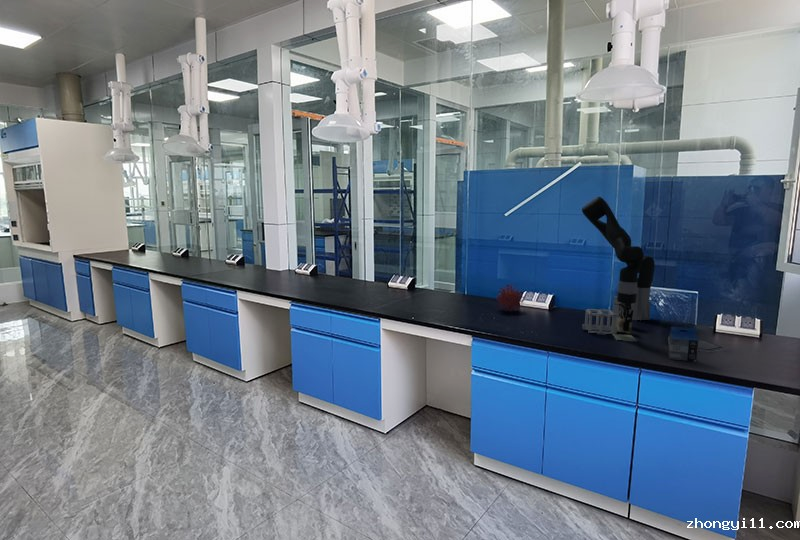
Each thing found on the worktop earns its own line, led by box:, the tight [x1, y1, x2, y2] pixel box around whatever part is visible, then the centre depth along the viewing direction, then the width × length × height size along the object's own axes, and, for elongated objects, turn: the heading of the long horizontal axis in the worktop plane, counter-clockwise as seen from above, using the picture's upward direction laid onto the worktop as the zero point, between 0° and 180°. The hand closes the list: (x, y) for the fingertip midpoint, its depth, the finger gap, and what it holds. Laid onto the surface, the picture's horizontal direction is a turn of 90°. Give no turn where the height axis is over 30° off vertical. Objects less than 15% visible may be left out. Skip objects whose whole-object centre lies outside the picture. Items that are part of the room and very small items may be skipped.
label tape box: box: [667, 326, 699, 362], centre depth 173 cm, size 9×4×12 cm, turn 69°
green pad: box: [611, 333, 637, 342], centre depth 201 cm, size 8×8×1 cm
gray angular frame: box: [584, 308, 618, 335], centre depth 211 cm, size 12×10×10 cm
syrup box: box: [612, 295, 620, 324], centre depth 222 cm, size 6×6×14 cm
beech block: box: [616, 318, 633, 333], centre depth 200 cm, size 5×5×5 cm
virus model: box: [496, 284, 525, 313], centre depth 250 cm, size 15×15×15 cm
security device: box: [667, 335, 724, 353], centre depth 191 cm, size 17×22×2 cm
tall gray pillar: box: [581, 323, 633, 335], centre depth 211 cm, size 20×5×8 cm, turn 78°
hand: (624, 328), depth 200 cm, fingers closed on beech block, 5 cm apart
